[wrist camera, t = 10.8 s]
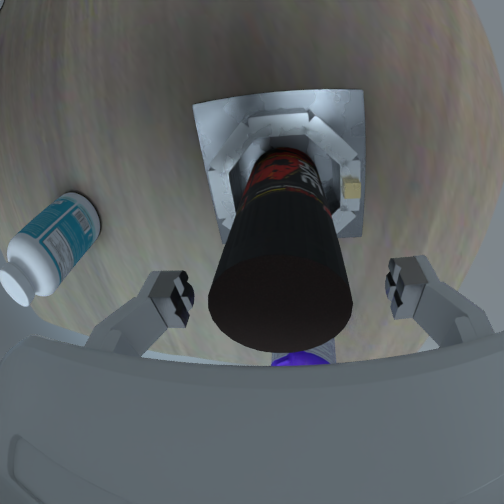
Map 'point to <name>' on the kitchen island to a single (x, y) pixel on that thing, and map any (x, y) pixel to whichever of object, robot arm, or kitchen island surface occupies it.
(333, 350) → the bottle
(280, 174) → the deodorant
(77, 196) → the pill bottle
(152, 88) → the kitchen island surface
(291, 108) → the hub collar
